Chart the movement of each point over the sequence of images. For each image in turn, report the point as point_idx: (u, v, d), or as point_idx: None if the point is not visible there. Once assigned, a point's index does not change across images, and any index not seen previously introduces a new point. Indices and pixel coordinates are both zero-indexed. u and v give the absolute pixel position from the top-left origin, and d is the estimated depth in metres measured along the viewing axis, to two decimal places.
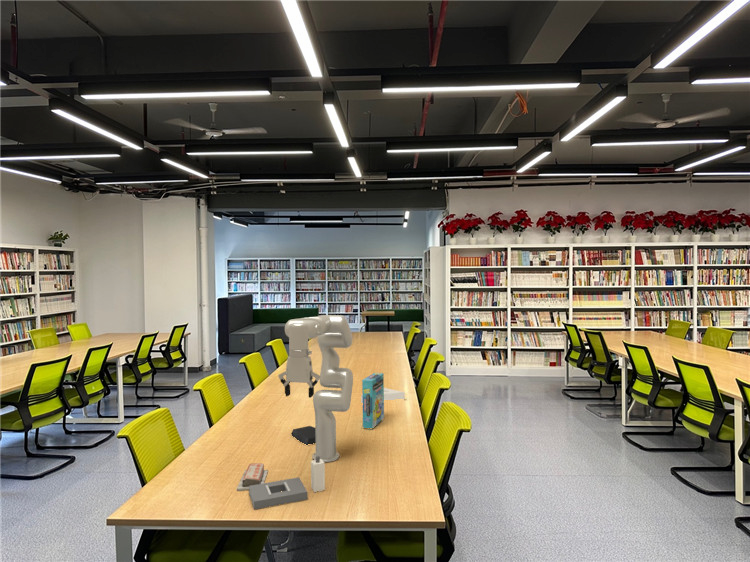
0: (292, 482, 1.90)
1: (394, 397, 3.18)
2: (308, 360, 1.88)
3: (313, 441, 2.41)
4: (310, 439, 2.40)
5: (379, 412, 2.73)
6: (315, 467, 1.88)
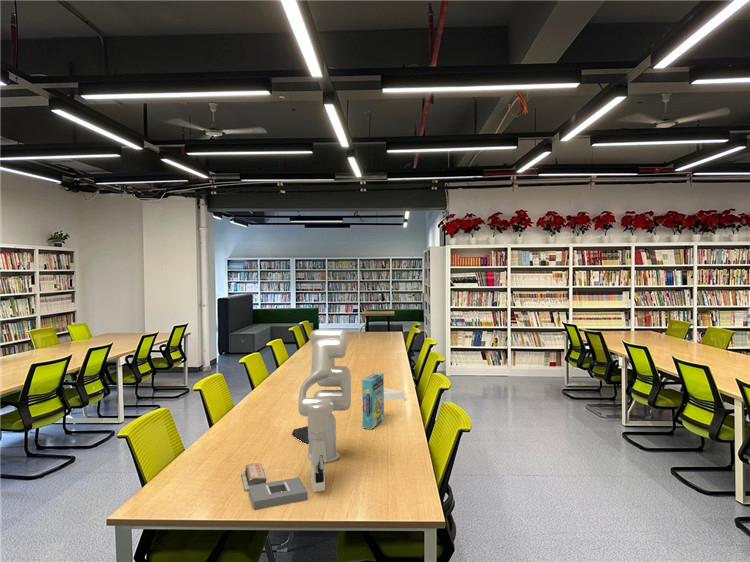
0: (292, 482, 1.90)
1: (394, 397, 3.18)
2: None
3: None
4: None
5: (379, 412, 2.73)
6: (315, 467, 1.88)
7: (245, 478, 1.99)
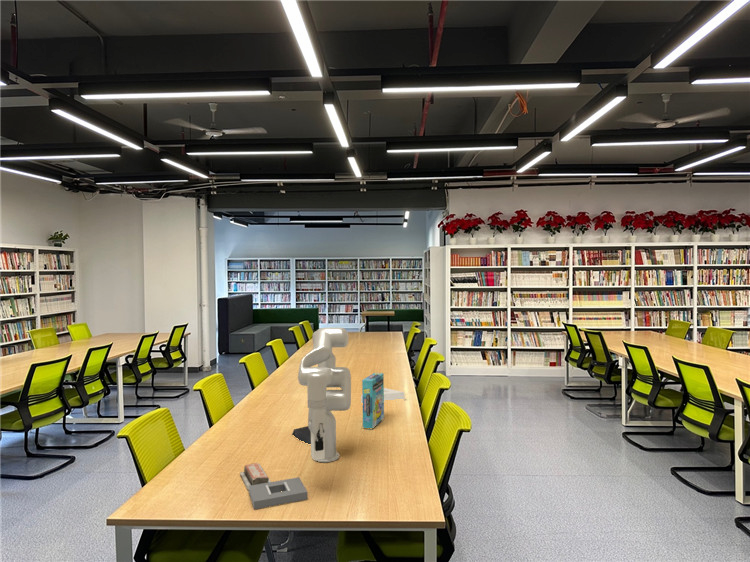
0: (292, 482, 1.90)
1: (394, 397, 3.18)
2: None
3: None
4: None
5: (379, 412, 2.73)
6: (315, 435, 1.88)
7: (246, 478, 1.98)
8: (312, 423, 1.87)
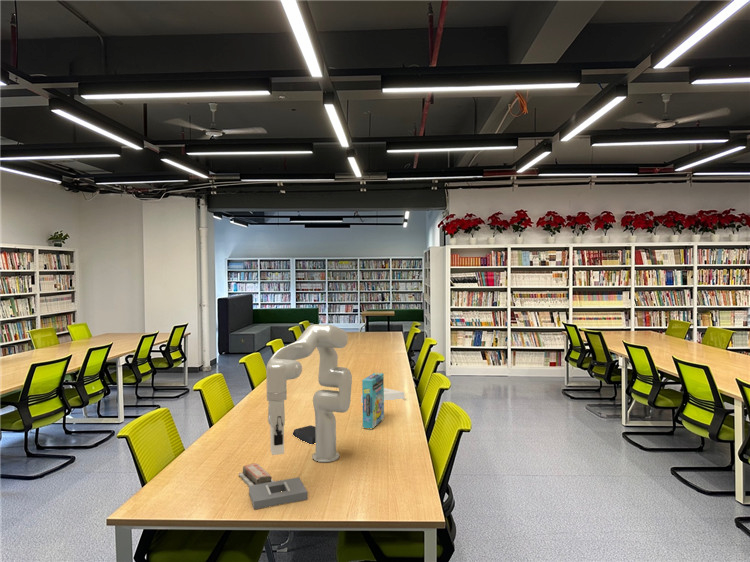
0: (292, 482, 1.90)
1: (394, 397, 3.18)
2: None
3: None
4: (314, 438, 2.41)
5: (379, 412, 2.73)
6: (274, 429, 1.82)
7: (247, 479, 1.98)
8: (271, 416, 1.80)
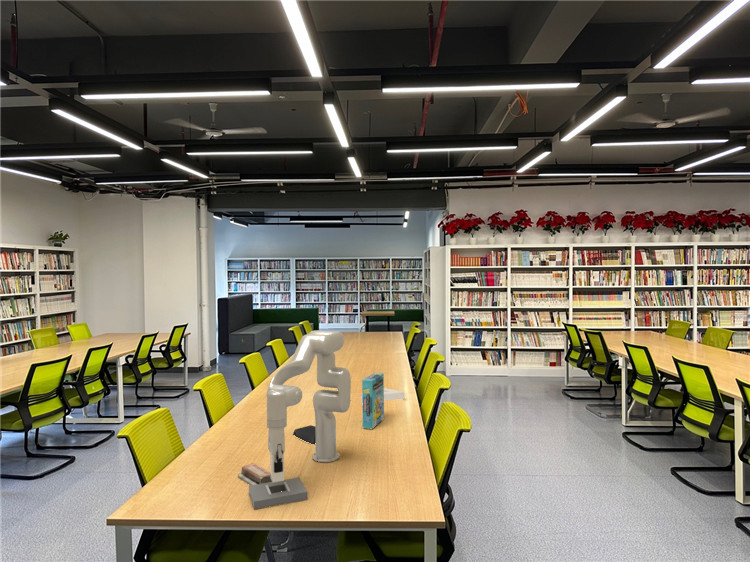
0: (292, 482, 1.90)
1: (394, 397, 3.18)
2: None
3: None
4: None
5: (379, 412, 2.73)
6: (274, 456, 1.82)
7: (248, 479, 1.98)
8: (271, 443, 1.81)
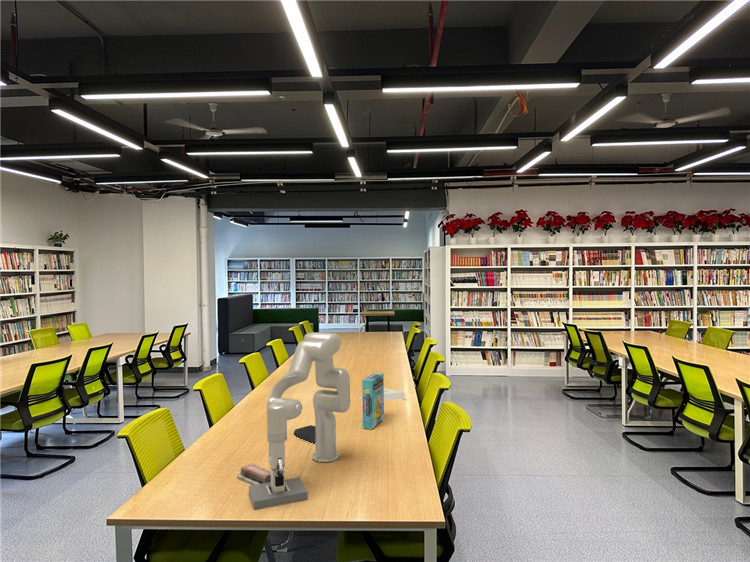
0: (292, 482, 1.90)
1: (394, 397, 3.18)
2: None
3: None
4: None
5: (379, 412, 2.73)
6: (274, 474, 1.82)
7: (249, 479, 1.98)
8: (271, 457, 1.81)
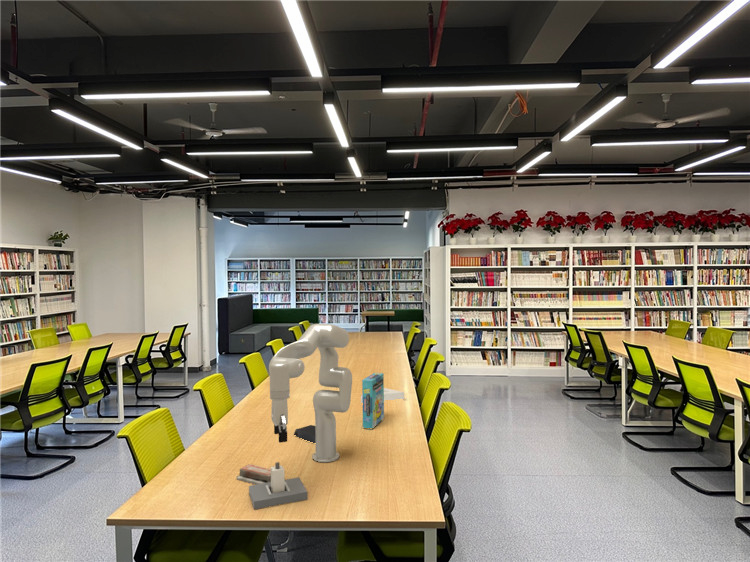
0: (292, 482, 1.90)
1: (394, 397, 3.18)
2: None
3: None
4: None
5: (379, 412, 2.73)
6: (274, 474, 1.82)
7: (251, 479, 1.98)
8: (274, 414, 1.82)
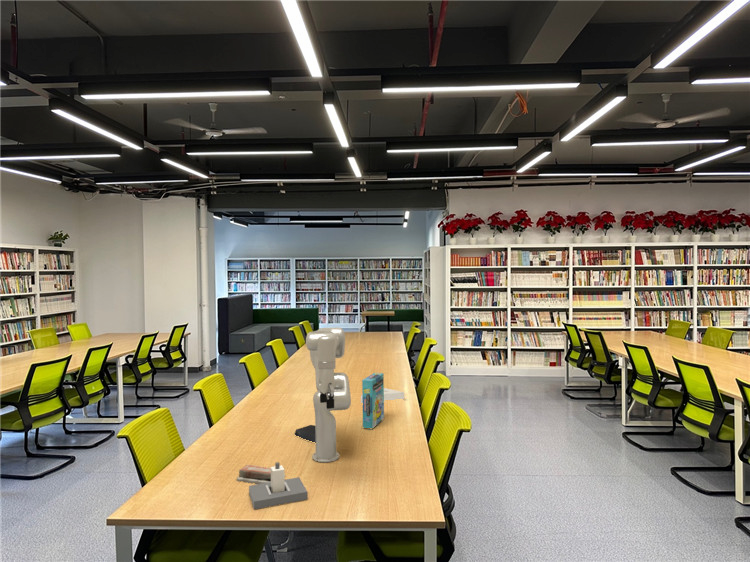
0: (292, 482, 1.90)
1: (394, 397, 3.18)
2: None
3: None
4: None
5: (379, 412, 2.73)
6: (274, 474, 1.82)
7: (253, 479, 1.98)
8: (322, 383, 1.98)
